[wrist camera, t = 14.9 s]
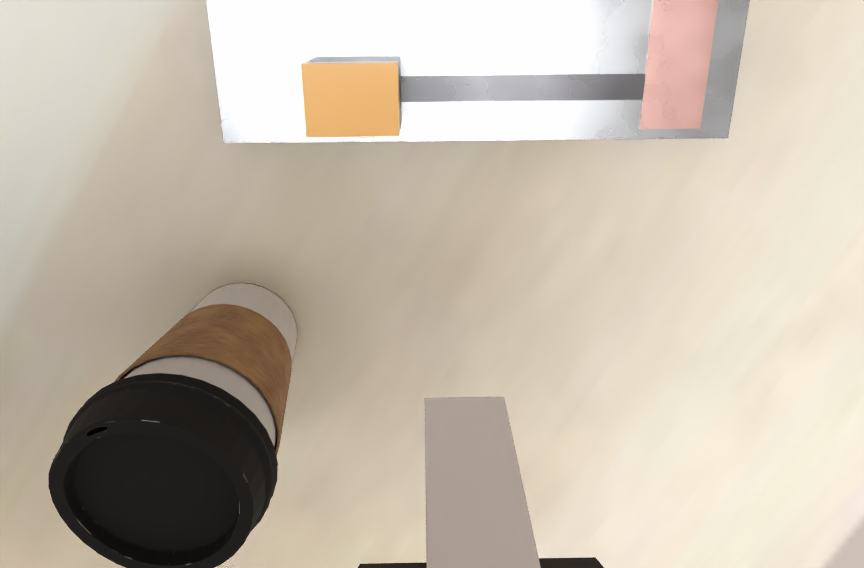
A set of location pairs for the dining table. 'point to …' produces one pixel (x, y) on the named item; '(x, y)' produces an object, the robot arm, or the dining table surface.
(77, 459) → the coffee cup
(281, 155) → the dining table surface
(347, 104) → the block
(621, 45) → the panel
